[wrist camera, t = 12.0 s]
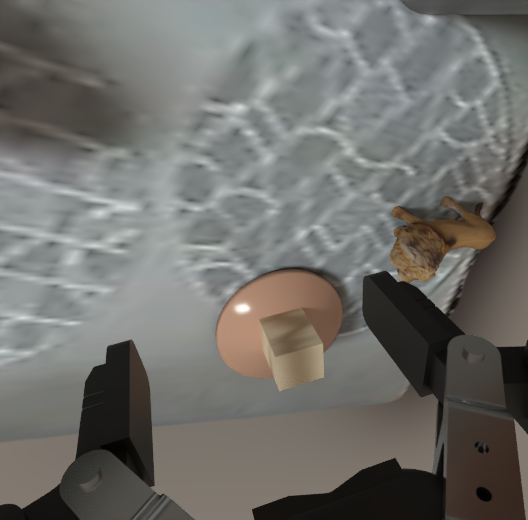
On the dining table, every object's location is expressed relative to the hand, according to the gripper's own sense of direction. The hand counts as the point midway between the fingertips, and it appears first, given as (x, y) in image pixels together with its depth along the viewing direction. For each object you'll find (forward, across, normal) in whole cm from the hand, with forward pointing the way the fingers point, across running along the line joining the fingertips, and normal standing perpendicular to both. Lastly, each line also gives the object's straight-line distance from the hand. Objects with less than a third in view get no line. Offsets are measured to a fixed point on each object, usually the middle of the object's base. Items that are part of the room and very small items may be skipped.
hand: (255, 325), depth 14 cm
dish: (+25, -6, +23) cm, 34 cm away
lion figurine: (+25, -24, +14) cm, 37 cm away
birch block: (+23, -6, +23) cm, 33 cm away
